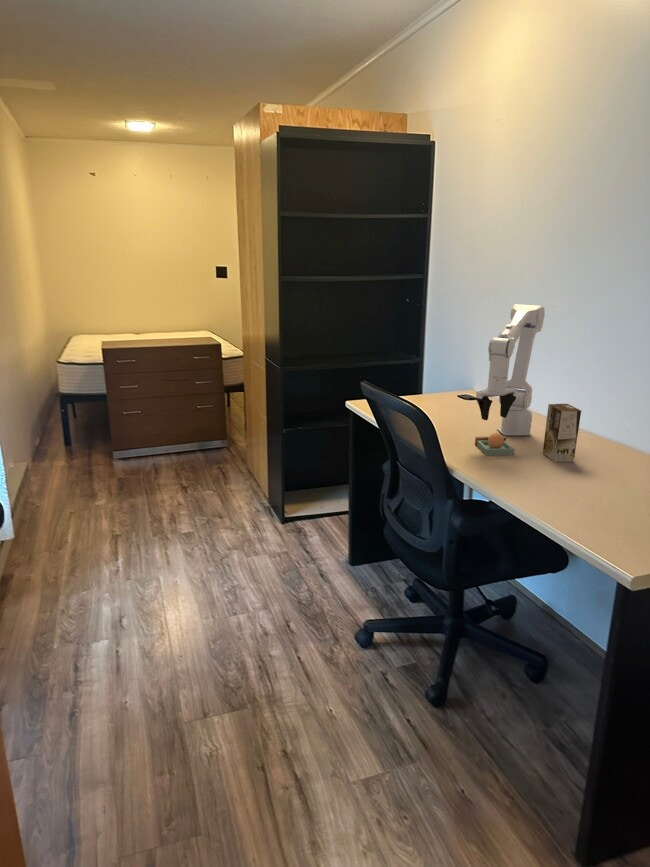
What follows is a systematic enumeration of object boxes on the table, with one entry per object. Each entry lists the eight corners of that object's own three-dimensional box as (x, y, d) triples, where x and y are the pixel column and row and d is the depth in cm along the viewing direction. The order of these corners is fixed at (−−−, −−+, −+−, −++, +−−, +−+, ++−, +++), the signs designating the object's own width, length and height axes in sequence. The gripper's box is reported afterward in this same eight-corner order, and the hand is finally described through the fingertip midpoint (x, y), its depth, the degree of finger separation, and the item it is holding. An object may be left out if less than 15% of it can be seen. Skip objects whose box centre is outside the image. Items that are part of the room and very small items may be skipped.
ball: (494, 445, 192) (496, 430, 191) (506, 449, 188) (508, 434, 187) (483, 446, 190) (485, 432, 188) (494, 451, 186) (496, 436, 184)
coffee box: (574, 462, 179) (582, 410, 175) (554, 462, 179) (561, 410, 174) (561, 452, 188) (568, 403, 183) (541, 452, 188) (548, 403, 183)
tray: (503, 445, 194) (504, 440, 193) (514, 454, 185) (514, 449, 184) (476, 445, 193) (477, 440, 192) (485, 454, 184) (486, 449, 184)
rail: (504, 443, 196) (505, 436, 195) (505, 444, 194) (506, 437, 194) (474, 443, 195) (475, 436, 194) (476, 445, 194) (476, 437, 193)
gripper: (507, 372, 191) (503, 412, 195) (471, 375, 185) (467, 417, 189) (523, 376, 185) (518, 418, 189) (486, 380, 179) (482, 423, 183)
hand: (494, 418), depth 189 cm, fingers open, 7 cm apart
